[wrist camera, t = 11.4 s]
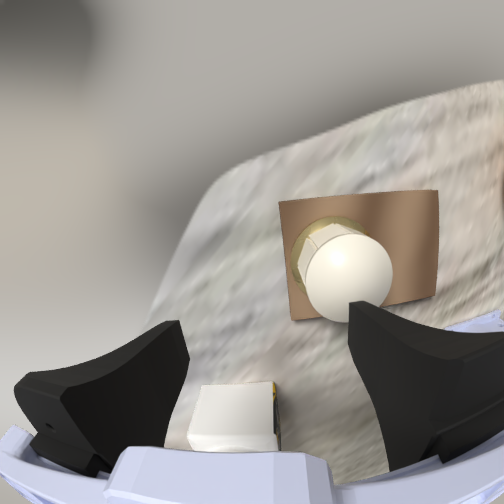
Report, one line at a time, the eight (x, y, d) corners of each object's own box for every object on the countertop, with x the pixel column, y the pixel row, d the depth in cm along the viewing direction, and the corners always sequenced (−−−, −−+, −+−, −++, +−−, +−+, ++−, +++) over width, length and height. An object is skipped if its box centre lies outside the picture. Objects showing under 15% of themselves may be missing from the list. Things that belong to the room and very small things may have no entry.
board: (430, 189, 19) (438, 190, 18) (428, 290, 21) (435, 295, 20) (278, 201, 20) (279, 202, 19) (290, 313, 22) (291, 320, 21)
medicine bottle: (280, 424, 26) (283, 517, 14) (216, 427, 26) (199, 516, 15) (274, 379, 24) (276, 488, 12) (201, 383, 24) (170, 483, 13)
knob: (371, 212, 19) (390, 217, 16) (373, 293, 20) (388, 311, 17) (285, 221, 19) (289, 228, 16) (294, 305, 21) (298, 325, 18)
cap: (353, 303, 20) (370, 330, 16) (287, 285, 20) (293, 310, 16) (380, 237, 19) (405, 251, 15) (313, 213, 18) (325, 221, 14)
